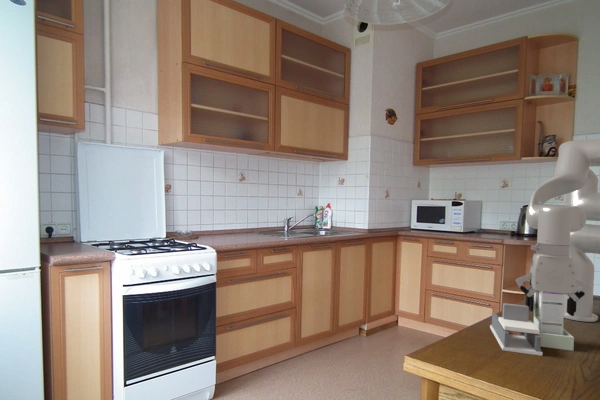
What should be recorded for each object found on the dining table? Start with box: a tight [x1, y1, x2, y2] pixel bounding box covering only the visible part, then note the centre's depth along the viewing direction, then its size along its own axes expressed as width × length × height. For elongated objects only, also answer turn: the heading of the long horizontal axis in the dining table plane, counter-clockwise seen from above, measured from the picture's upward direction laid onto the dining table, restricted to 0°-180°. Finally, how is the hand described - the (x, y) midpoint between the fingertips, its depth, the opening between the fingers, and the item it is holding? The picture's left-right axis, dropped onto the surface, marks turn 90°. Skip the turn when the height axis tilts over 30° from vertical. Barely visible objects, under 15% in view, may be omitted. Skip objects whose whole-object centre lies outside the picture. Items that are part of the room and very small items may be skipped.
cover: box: [498, 302, 540, 334], centre depth 102 cm, size 8×8×5 cm
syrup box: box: [532, 291, 565, 335], centre depth 105 cm, size 6×6×14 cm
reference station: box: [489, 312, 543, 356], centre depth 106 cm, size 18×9×5 cm, turn 163°
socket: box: [539, 327, 575, 352], centre depth 105 cm, size 9×9×4 cm
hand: (549, 312), depth 105 cm, fingers open, 9 cm apart
